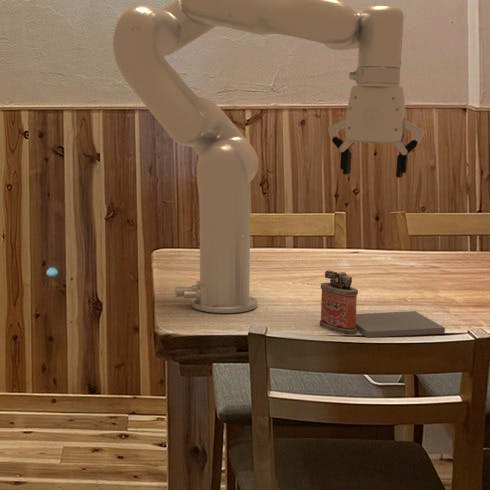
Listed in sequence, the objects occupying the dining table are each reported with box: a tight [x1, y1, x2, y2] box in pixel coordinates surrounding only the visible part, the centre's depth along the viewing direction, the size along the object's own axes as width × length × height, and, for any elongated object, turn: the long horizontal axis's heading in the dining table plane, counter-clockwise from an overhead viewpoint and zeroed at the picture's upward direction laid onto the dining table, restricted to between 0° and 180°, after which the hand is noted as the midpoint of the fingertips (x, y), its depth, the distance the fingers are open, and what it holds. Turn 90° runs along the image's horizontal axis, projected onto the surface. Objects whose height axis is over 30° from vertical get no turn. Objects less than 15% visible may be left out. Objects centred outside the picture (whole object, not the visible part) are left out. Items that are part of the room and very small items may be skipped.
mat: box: [356, 310, 446, 338], centre depth 140 cm, size 14×12×1 cm
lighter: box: [319, 269, 359, 336], centre depth 137 cm, size 8×3×10 cm, turn 35°
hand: (372, 175), depth 145 cm, fingers open, 9 cm apart
